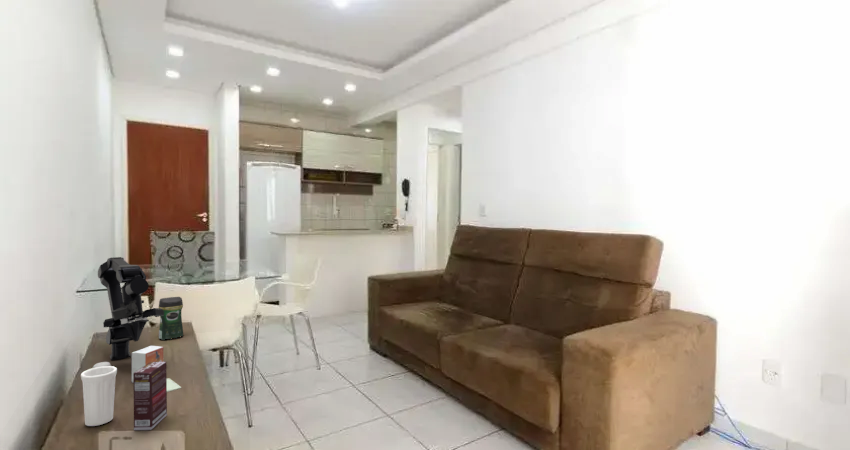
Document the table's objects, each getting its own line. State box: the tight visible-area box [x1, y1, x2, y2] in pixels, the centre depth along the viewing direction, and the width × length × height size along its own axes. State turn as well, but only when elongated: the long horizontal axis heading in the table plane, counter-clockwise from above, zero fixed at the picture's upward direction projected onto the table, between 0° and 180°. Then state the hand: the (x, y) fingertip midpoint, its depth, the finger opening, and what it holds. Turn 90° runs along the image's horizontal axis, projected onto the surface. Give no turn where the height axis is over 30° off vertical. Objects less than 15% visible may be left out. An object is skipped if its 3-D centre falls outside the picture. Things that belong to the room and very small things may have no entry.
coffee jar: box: [158, 296, 184, 341], centre depth 194 cm, size 10×8×19 cm
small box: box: [131, 345, 164, 384], centre depth 148 cm, size 8×6×10 cm
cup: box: [80, 365, 118, 427], centre depth 118 cm, size 8×8×14 cm
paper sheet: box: [167, 377, 182, 393], centre depth 141 cm, size 11×10×1 cm
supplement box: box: [133, 361, 168, 431], centre depth 118 cm, size 9×5×16 cm, turn 5°
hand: (136, 341), depth 156 cm, fingers closed
